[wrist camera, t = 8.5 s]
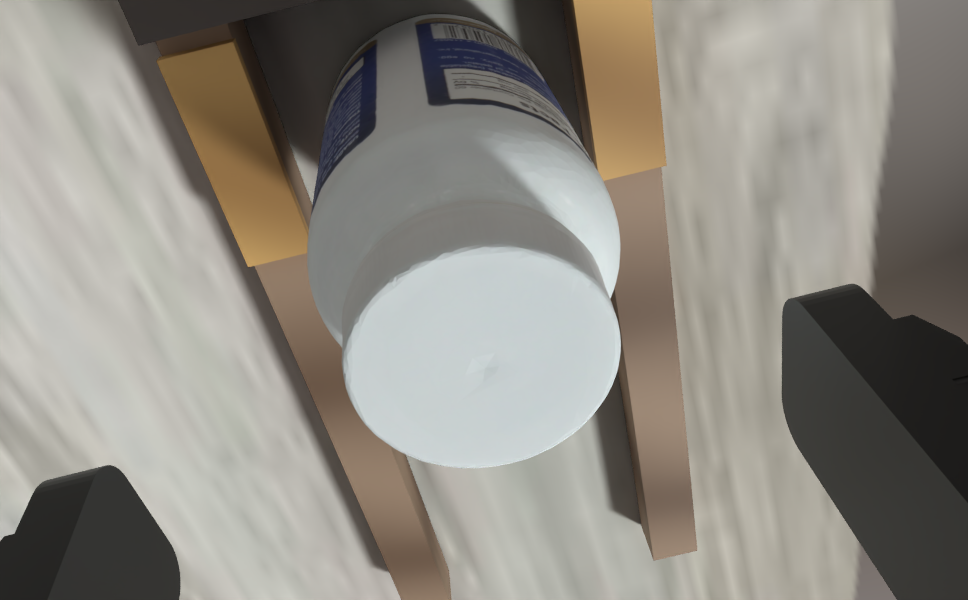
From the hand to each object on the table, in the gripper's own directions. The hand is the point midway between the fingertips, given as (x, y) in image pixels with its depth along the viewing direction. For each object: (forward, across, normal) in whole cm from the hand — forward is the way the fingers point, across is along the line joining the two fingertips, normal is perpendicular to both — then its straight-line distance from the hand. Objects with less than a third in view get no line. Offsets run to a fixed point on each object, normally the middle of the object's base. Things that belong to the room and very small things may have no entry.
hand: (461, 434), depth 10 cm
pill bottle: (+12, -1, 0) cm, 12 cm away
